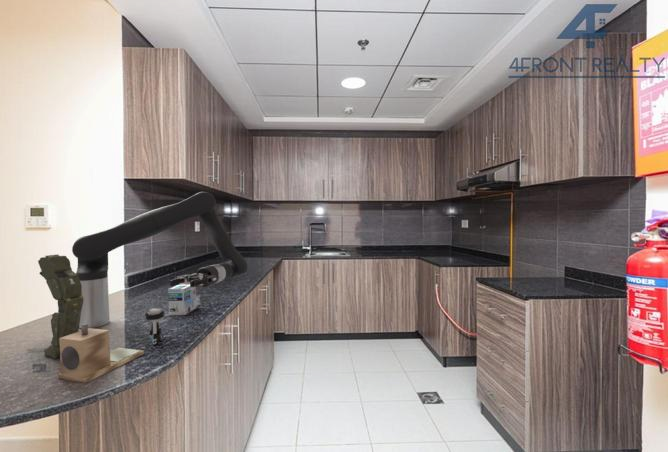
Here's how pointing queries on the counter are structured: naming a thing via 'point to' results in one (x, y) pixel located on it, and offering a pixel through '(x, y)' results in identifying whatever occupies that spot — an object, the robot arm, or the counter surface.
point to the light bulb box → (181, 299)
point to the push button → (155, 323)
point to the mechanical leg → (62, 298)
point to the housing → (90, 355)
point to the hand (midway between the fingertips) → (180, 284)
